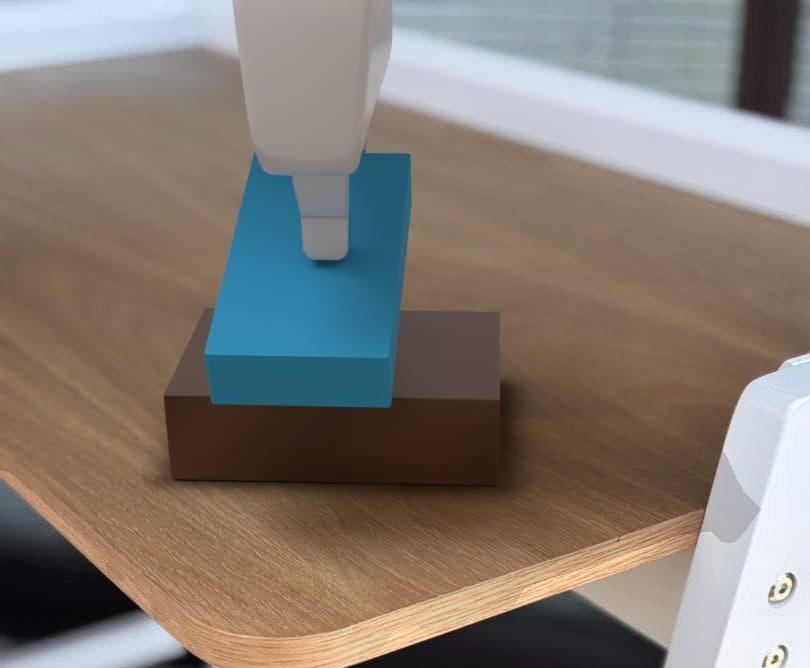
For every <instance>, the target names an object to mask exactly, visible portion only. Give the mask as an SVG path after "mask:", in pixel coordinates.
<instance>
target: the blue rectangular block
mask: <svg viewBox="0 0 810 668" xmlns="http://www.w3.org/2000/svg"><path fill="white" fill-rule="evenodd" d="M411 155H412V154H410V153H407V152H406V153H404V152H403V153H401V152H399V153H398V152H395V153H394V152H384V153H383V152H367V153H362V154H361V158H360V162H359V166H358V168H357V169H356V171H355V172H354V173H352V174H349V206H350V232H351V240H350V245H349V249H348V252H347V255H346V256H345V257H344V258H343V259H340V260H312V259H310V258H308V257H307V256H306V255H305V253H304V252H303V243H302V224H301V215H300V211H299V207H298V203H297V199H296V195H295V191H294V186H293V182H292V176H284V175H271V174H268V173H266V172H265V171H264V170H263V169H262V167H261V165H260V163H259V161H258V158H257V155H256V152H253V155H252V160H251V164H250V166H249V167H250V168H249V172H248V175H247V180H246V184H245V187H244V191H243V196H242V200H241V204H240V206H239V212H238V216H237V220H236V223H235V228H234V232H233V237H232V240H231V244H230V247H229V253H228V256H227V260H226V265H225V267H224V273H223V276H222V280H221V284H220V288H219V292H218V297H217V299H216V304H215V307H214V308H215V312H214V316H213V320H212V324H211V328H210V332H209V336H208V340H207V344H206V348H205V352H204V355H205V362H206V368H207V375H208V382H209V388H210V395H211V402H212V403H213V404H235V405H284V406H333V407H382V408H388V407H390V406H391V398H392V388H393V378H394V369H395V359H396V349H397V340H398V330H399V320H400V310H402V301H403V289H404V280H405V270H406V260H407V252H408V251H407V250H408V243H409V232H410V224H411V223H410V221H411V213H412V204H413V203H412V201H413V199H412V193H413V192H412V158H411Z"/></svg>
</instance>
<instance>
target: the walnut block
mask: <svg viewBox="0 0 810 668" xmlns="http://www.w3.org/2000/svg"><path fill="white" fill-rule="evenodd" d="M215 308H216V307H204V308H203V310H202V312H201V314H200V316H199V317H198V320H197V323H196V325H195V327H194V329H193V331H192V333H191V335H190V337H189V340H188V342H187V344H186V345H185V348H184V351H183V352H182V354H181V356H180V359H179V361H178V363H177V365H176V367H175V369H174V371H173V374H172V376H171V378H170V380H169V382H168V385H167V387H166V389H165V391H164V393H163V395H162V396H163V397H162V398H163V406H164V407H163V408H164V416H165V417H164V418H165V427H166V438H167V447H168V448H167V449H168V450H167V451H168V460H169V470H170V471H169V472H170V478H171V479H172V480H191V481H192V480H195V481H196V480H197V481H198V480H200V481H245V482H246V481H247V482H248V481H250V482H299V483H300V482H301V483H345V484H347V483H348V484H350V483H351V484H397V485H398V484H401V485H402V484H404V485H444V486H446V485H449V486H451V485H452V486H453V485H454V486H498V484H499V454H500V453H499V447H500V414H501V413H500V411H501V410H500V409H501V313H500V312H499V311H477V310H476V311H475V310H474V311H471V310H470V311H469V310H468V311H466V310H465V311H464V310H404V309H403V310H402V309H401V310H400V320H399V330H398V340H397V349H396V359H395V369H394V378H393V388H392V398H391V406H390V407H388V408H382V407H333V406H284V405H235V404H213V403H212V402H211V395H210V388H209V382H208V375H207V368H206V362H205V355H204V352H205V348H206V344H207V340H208V336H209V332H210V328H211V324H212V320H213V316H214V312H215Z"/></svg>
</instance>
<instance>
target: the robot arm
mask: <svg viewBox="0 0 810 668" xmlns="http://www.w3.org/2000/svg"><path fill="white" fill-rule="evenodd" d="M231 2H232V11H233V18H234V26H235V35H236V43H237V49H238V58H239V67H240V75H241V81H242V88H243V94H244V103H245V110H246V114H247V115H246V116H247V123H248V128H249V134H250V138H251V142H252V145H253V149H254V151H255V152H256V155H257V158H258V161H259V163H260V165H261V167H262V169H263V170H264V171H265V172H266V173H268V174H271V175H284V176H292V182H293V186H294V191H295V195H296V199H297V203H298V207H299V211H300V215H301V224H302V243H303V252H304V253H305V255H306V256H307V257H308V258H310V259H312V260H340V259H343V258H344V257H345V256H346V255H347V252H348V249H349V245H350V240H351V232H350V206H349V174H352V173H354V172H355V171H356V169H357V168H358V166H359V162H360V158H361V154H362V153H368V141H369V131H370V126H371V123H372V120H373V116H374V112H375V109H376V106H377V102H378V99H379V95H380V92H381V90H382V89H381V88H382V84H383V81H384V78H385V75H386V71H387V68H388V65H389V61H390V58H391V54H392V46H393V0H231ZM255 152H254V153H255Z"/></svg>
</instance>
